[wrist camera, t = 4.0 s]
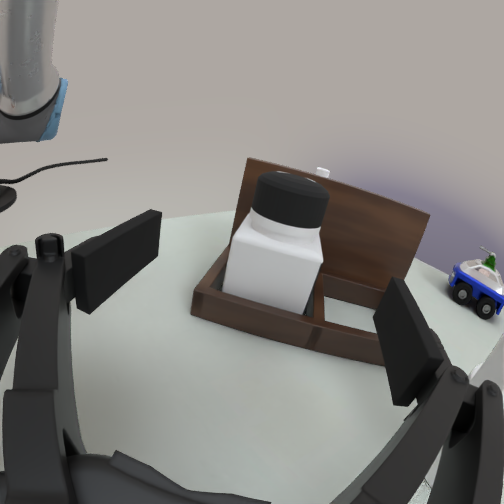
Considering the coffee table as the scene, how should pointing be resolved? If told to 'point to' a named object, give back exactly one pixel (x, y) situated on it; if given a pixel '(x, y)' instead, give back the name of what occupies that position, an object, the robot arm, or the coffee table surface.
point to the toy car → (479, 285)
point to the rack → (324, 268)
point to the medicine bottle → (279, 243)
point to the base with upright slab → (494, 369)
